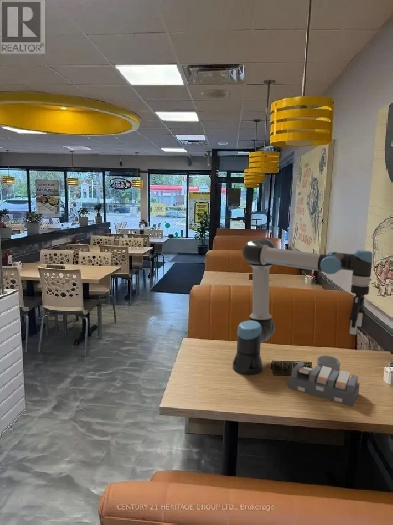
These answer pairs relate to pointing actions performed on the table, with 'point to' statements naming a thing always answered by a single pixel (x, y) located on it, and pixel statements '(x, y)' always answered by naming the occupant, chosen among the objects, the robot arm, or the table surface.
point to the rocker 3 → (342, 380)
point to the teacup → (329, 362)
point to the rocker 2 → (324, 375)
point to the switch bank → (327, 391)
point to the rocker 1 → (305, 370)
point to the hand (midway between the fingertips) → (355, 330)
